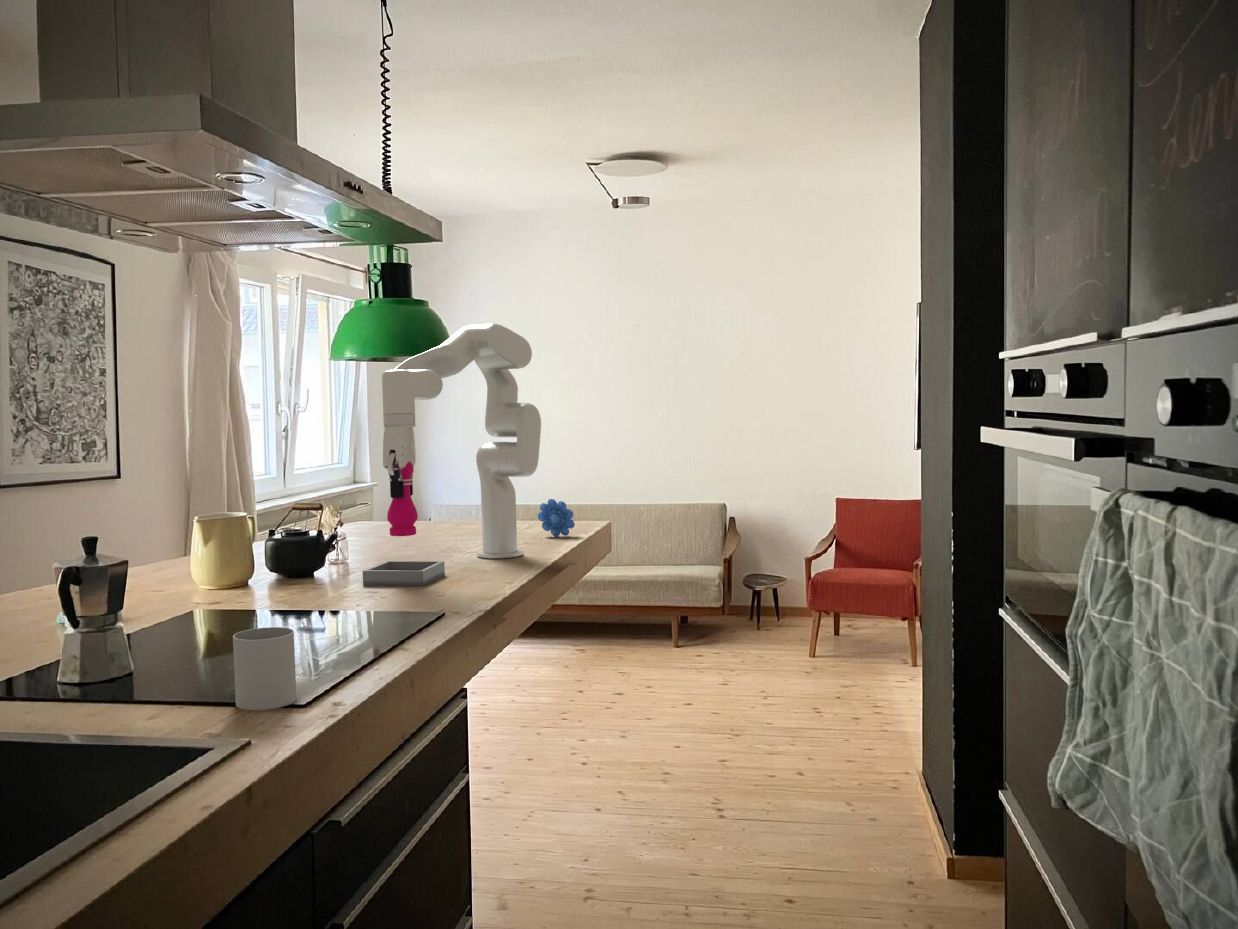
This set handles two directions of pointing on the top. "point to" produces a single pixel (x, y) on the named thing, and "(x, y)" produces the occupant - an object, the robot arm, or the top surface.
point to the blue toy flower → (556, 517)
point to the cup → (264, 668)
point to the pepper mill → (403, 508)
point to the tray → (403, 573)
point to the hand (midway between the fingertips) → (401, 495)
